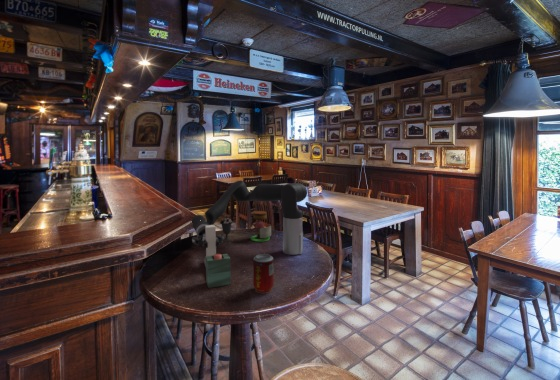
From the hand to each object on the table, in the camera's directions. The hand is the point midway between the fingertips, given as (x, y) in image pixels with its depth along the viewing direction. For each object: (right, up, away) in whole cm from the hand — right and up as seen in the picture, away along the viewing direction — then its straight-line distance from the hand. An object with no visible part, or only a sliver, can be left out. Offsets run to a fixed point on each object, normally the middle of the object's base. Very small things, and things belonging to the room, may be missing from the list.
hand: (211, 244), depth 120 cm
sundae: (-1, -6, +42) cm, 43 cm away
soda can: (+22, -13, -14) cm, 29 cm away
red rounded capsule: (+5, -7, -10) cm, 13 cm away
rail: (+1, -11, 0) cm, 11 cm away
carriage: (-1, -11, +4) cm, 11 cm away
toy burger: (+16, -5, +45) cm, 48 cm away
